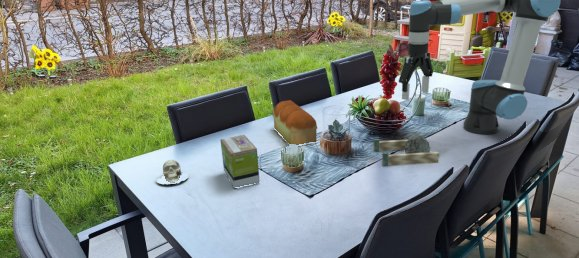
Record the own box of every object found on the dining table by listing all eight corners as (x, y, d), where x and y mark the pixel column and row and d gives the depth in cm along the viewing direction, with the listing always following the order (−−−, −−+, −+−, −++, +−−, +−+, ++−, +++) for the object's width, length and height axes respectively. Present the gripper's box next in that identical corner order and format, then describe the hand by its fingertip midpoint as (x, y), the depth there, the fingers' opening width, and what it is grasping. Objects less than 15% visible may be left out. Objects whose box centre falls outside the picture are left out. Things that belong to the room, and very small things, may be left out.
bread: (317, 143, 189) (317, 112, 184) (291, 148, 185) (290, 116, 180) (297, 126, 211) (296, 97, 206) (273, 130, 207) (271, 101, 202)
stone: (421, 137, 165) (419, 127, 174) (400, 151, 168) (399, 141, 178) (436, 154, 166) (433, 144, 175) (415, 168, 170) (413, 157, 179)
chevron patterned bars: (424, 147, 181) (425, 135, 179) (438, 162, 166) (439, 150, 164) (373, 150, 180) (373, 138, 178) (383, 166, 165) (383, 153, 163)
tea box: (223, 173, 165) (219, 138, 159) (247, 168, 168) (245, 133, 163) (234, 190, 152) (230, 152, 146) (260, 184, 155) (258, 147, 150)
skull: (191, 181, 157) (169, 165, 153) (172, 200, 158) (150, 185, 154) (191, 167, 168) (170, 152, 164) (173, 185, 169) (153, 170, 165)
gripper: (427, 37, 173) (424, 87, 181) (390, 46, 158) (388, 100, 166) (444, 38, 168) (440, 90, 175) (407, 48, 153) (404, 104, 160)
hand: (415, 95), depth 171 cm, fingers open, 13 cm apart
